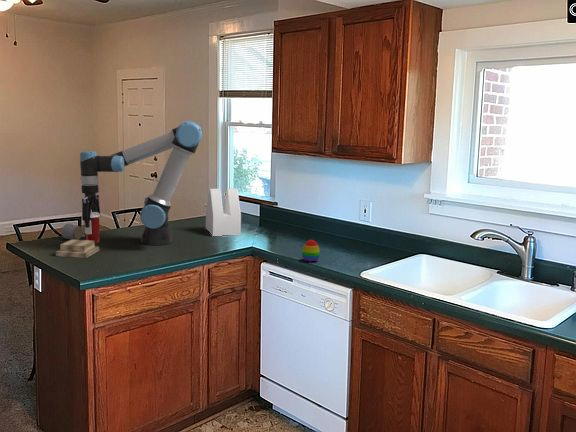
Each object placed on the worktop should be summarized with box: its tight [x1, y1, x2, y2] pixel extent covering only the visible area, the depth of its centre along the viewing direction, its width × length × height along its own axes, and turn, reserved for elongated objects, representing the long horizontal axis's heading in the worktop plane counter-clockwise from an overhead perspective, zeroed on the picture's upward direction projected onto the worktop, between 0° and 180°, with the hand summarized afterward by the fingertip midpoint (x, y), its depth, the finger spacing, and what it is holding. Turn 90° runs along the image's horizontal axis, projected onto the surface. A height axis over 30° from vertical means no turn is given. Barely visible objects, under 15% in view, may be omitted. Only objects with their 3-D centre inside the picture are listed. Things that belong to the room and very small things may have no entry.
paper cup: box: [83, 211, 101, 244], centre depth 266 cm, size 8×8×14 cm
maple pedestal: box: [55, 239, 100, 259], centre depth 255 cm, size 14×14×5 cm
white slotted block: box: [205, 187, 242, 237], centre depth 312 cm, size 19×15×25 cm
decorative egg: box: [301, 239, 321, 262], centre depth 259 cm, size 8×8×10 cm
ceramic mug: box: [60, 223, 86, 240], centre depth 284 cm, size 11×8×8 cm
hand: (92, 232), depth 266 cm, fingers closed on paper cup, 8 cm apart
